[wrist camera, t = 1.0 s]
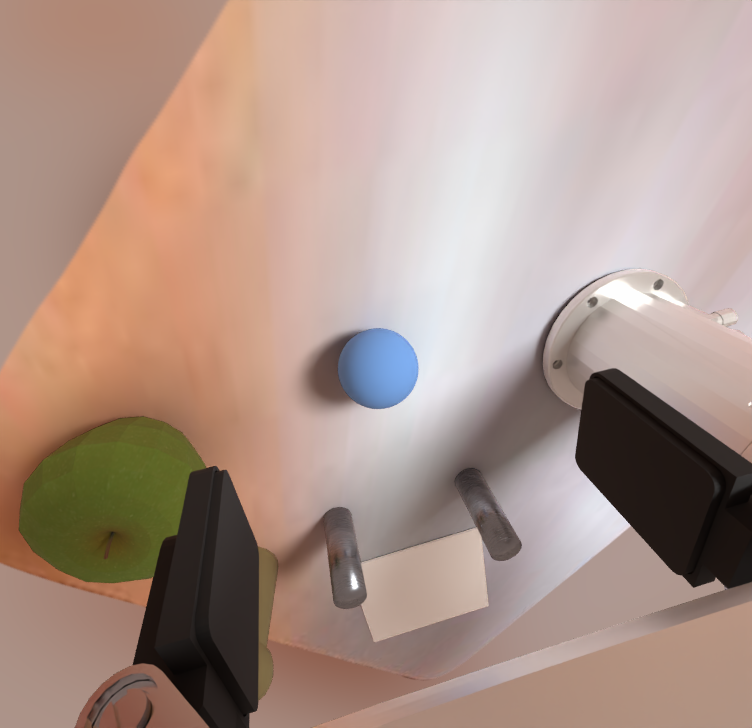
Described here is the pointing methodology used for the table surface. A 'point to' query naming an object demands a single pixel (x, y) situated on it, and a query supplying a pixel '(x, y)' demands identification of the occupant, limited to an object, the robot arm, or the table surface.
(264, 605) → the olive pawn shape
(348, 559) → the post
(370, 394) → the ball
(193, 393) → the table surface
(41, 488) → the apple
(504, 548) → the post
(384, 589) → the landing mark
